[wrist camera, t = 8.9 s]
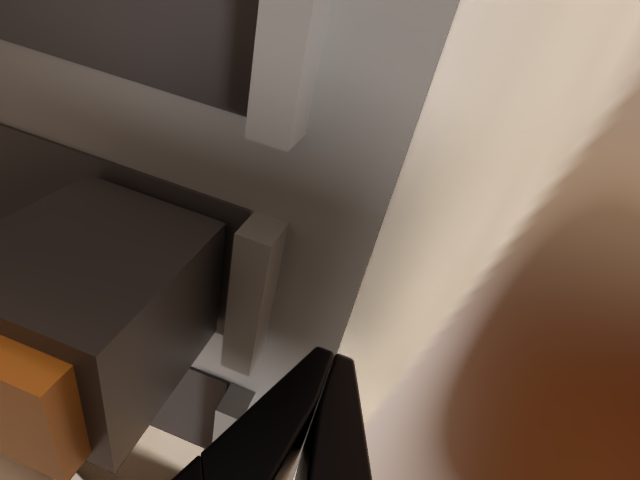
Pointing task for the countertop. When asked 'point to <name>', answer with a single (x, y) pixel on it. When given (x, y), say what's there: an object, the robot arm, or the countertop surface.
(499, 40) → the countertop surface
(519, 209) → the countertop surface
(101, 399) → the block
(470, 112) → the countertop surface
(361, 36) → the breaker panel
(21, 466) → the mug
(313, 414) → the robot arm
